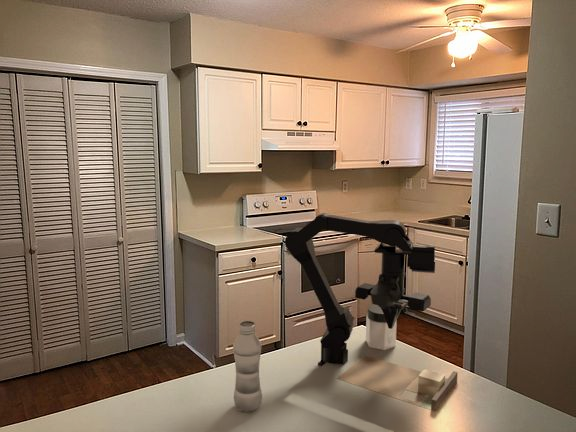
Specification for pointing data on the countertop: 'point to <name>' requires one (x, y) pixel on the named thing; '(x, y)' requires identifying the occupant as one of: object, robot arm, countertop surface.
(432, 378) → the block
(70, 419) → the countertop surface
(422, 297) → the robot arm
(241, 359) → the plastic bottle
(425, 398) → the board
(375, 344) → the jar
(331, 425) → the countertop surface
